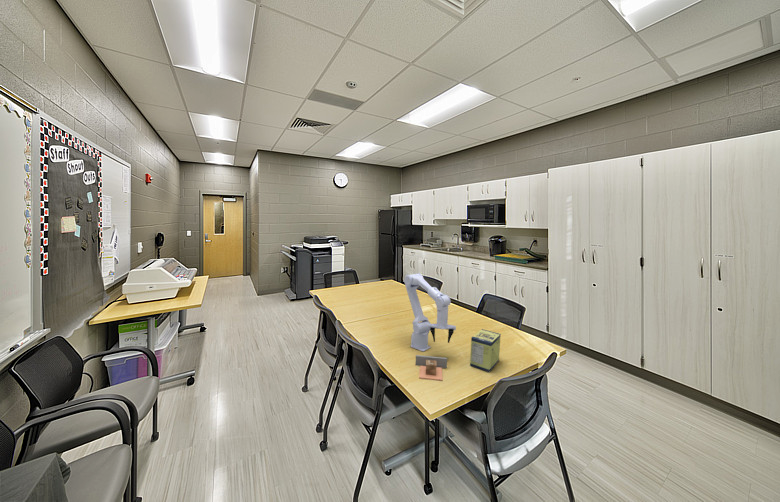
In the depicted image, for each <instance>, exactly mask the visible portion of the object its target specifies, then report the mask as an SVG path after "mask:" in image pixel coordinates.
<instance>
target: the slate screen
mask: <svg viewBox="0 0 780 502" xmlns="http://www.w3.org/2000/svg"><path fill="white" fill-rule="evenodd" d="M426 360H435V361H436V367H441V368H442V369H447V368H448V358H447V357H441V356H430V355H418V354H416V355H415V366H419V367H420V366H426Z"/></svg>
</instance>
